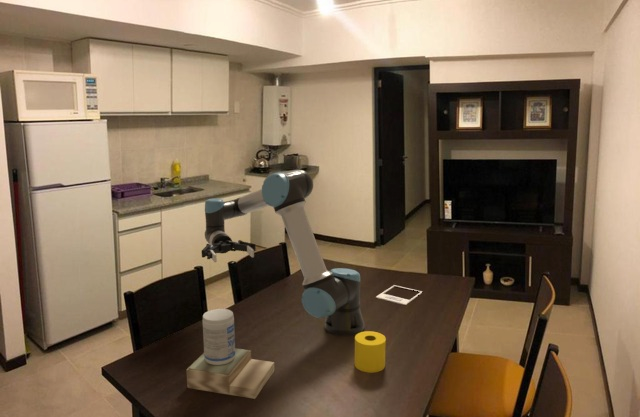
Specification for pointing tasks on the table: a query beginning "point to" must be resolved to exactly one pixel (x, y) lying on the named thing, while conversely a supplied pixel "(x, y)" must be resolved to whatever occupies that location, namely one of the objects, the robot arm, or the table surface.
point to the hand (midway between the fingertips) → (234, 256)
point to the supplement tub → (218, 336)
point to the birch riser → (231, 375)
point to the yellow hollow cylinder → (370, 351)
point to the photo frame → (396, 299)
